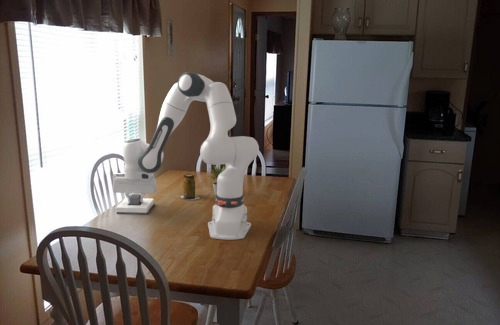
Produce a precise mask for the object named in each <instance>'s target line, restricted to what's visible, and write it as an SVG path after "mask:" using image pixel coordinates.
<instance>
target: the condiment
mask: <svg viewBox="0 0 500 325" xmlns="http://www.w3.org/2000/svg"><path fill="white" fill-rule="evenodd" d="M182 182H183V188H182V189H183V195H181V196H179V197H180V198H182V199H184V200H186V201H193V200H194V201H195V200H198V199H200V197H199V196H197V195H196V179H195V174H194V173H186V174H184V175H183V181H182Z"/></svg>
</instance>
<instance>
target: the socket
mask: <svg viewBox="0 0 500 325" xmlns="http://www.w3.org/2000/svg"><path fill="white" fill-rule="evenodd" d="M154 205H155V198H144V197H143V202H141V205H130V202H128V198H127V197H124V199H123V200H122V201H121V202H120V203H119V204H118V205H117V206H116V208H115V210H116V214H117V215H118V214H119V215H121V214H122V215H148V213H149V212H150V211H151V209H152V208H153V206H154Z"/></svg>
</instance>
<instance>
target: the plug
mask: <svg viewBox="0 0 500 325" xmlns="http://www.w3.org/2000/svg"><path fill="white" fill-rule="evenodd" d="M140 197H142V195H141V193H131V195H130V205H141V202H139V198H140Z"/></svg>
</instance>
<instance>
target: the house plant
mask: <svg viewBox="0 0 500 325" xmlns="http://www.w3.org/2000/svg"><path fill="white" fill-rule="evenodd" d="M219 166H220V165H214V169H211V168H209V170H210V171H211V173H212V174H213V176H212V175H208V176H207V177H209V178H212V179H214V182H212V186H213V192H214V196H216V194H217V177H218V175H219V174H220V173H221V172H223V171H224V170H225V169H226V168H227V166H228V165H227V166H225V165H223V166H222V167H221V169H220V167H219Z"/></svg>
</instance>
